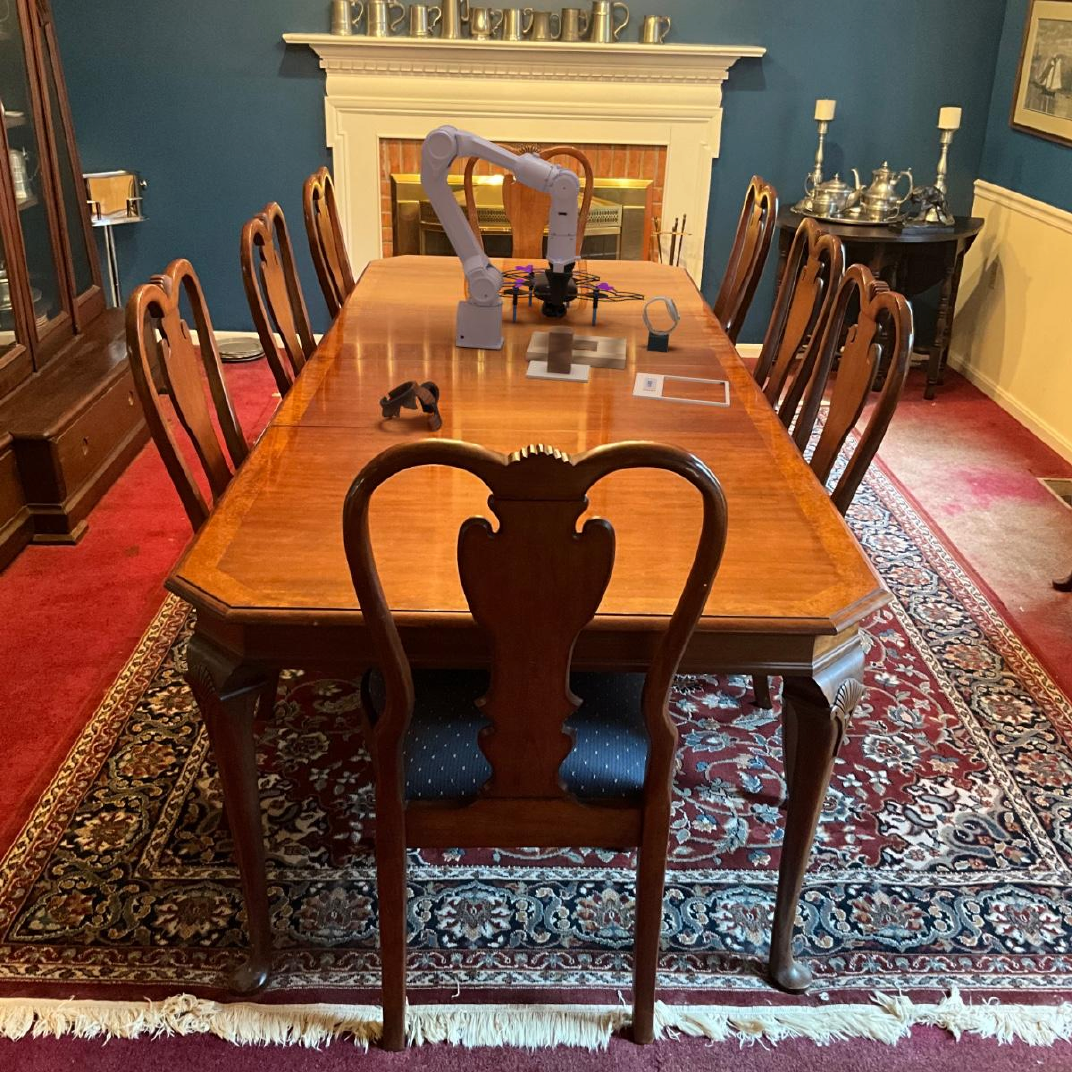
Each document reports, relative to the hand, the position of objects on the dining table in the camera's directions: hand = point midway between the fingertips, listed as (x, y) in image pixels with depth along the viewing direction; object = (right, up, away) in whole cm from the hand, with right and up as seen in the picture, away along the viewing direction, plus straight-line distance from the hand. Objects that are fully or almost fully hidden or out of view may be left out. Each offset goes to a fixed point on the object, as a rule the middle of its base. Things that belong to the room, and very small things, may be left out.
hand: (558, 300), depth 220 cm
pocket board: (+4, -11, +3) cm, 12 cm away
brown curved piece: (-25, -30, -40) cm, 56 cm away
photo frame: (+23, -21, -15) cm, 35 cm away
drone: (-1, +4, +32) cm, 32 cm away
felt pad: (0, -16, -10) cm, 19 cm away
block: (0, -16, -10) cm, 19 cm away
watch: (+22, -8, +11) cm, 26 cm away
